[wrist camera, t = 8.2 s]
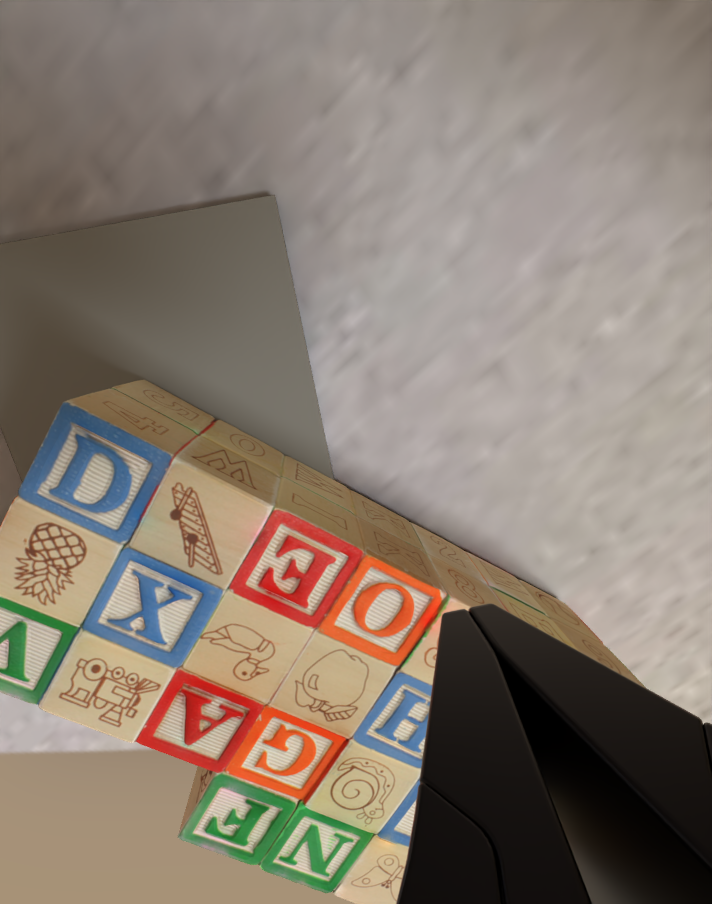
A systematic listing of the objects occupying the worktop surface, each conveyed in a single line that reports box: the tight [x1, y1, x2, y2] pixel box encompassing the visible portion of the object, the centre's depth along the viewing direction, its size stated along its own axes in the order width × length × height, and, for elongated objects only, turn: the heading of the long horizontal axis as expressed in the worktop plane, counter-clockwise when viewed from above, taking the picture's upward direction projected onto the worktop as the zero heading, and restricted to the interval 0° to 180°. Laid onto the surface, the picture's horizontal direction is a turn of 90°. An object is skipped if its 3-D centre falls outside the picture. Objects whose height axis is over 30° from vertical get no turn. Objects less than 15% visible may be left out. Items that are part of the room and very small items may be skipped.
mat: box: [0, 195, 334, 482], centre depth 19 cm, size 12×18×1 cm, turn 11°
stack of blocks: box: [0, 380, 647, 904], centre depth 18 cm, size 21×6×12 cm
